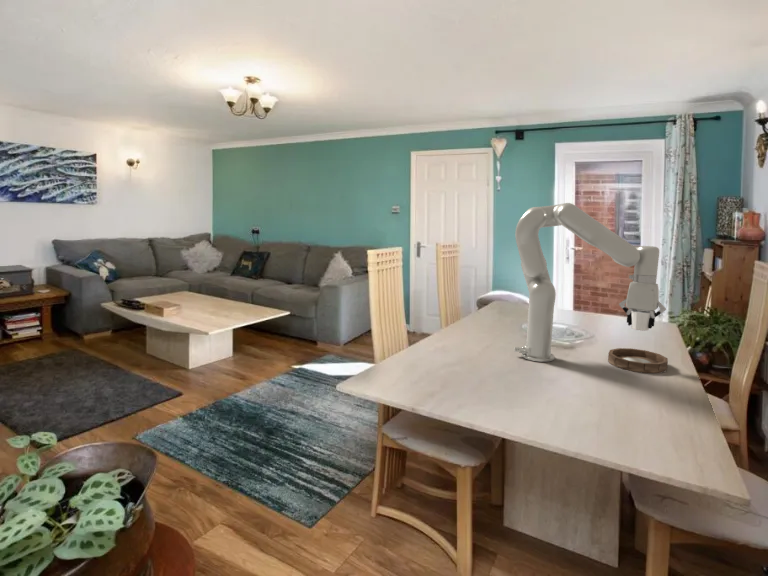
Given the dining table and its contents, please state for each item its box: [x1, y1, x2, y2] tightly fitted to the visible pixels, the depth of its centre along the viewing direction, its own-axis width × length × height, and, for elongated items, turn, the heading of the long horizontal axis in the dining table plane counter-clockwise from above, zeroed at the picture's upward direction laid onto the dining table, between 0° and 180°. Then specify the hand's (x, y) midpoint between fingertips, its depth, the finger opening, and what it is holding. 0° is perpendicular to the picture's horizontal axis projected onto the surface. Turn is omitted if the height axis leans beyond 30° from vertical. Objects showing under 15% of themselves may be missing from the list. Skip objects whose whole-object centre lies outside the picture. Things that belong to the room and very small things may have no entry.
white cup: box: [631, 309, 651, 332], centre depth 173 cm, size 7×7×7 cm
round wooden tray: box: [607, 347, 669, 374], centre depth 177 cm, size 20×20×4 cm
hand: (640, 325), depth 173 cm, fingers closed on white cup, 6 cm apart
